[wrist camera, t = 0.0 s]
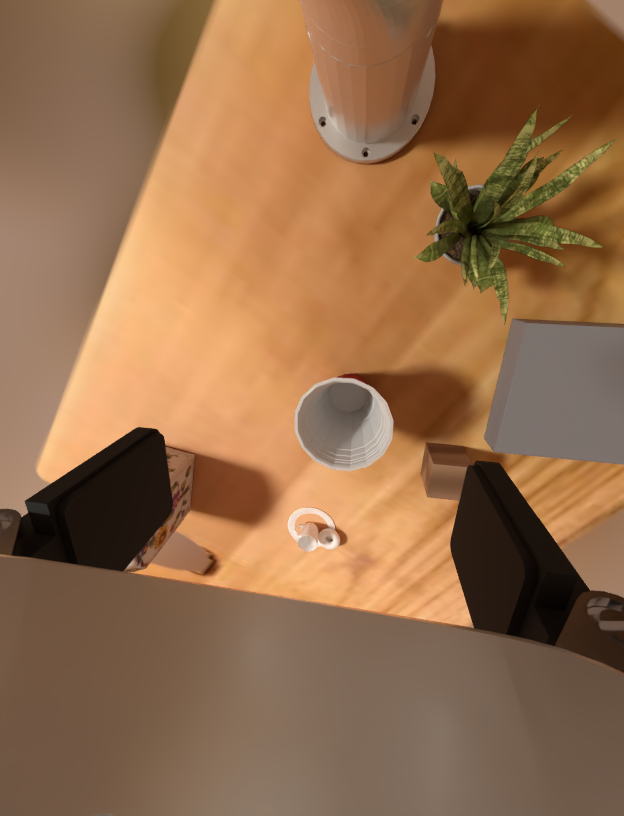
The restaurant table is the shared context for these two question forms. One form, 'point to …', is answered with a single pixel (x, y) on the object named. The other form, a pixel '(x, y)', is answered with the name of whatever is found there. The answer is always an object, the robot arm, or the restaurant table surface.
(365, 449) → the plastic cup
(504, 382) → the grey square slab
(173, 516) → the decorative jar
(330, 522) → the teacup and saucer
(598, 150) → the house plant
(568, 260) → the restaurant table surface
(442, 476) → the walnut block
